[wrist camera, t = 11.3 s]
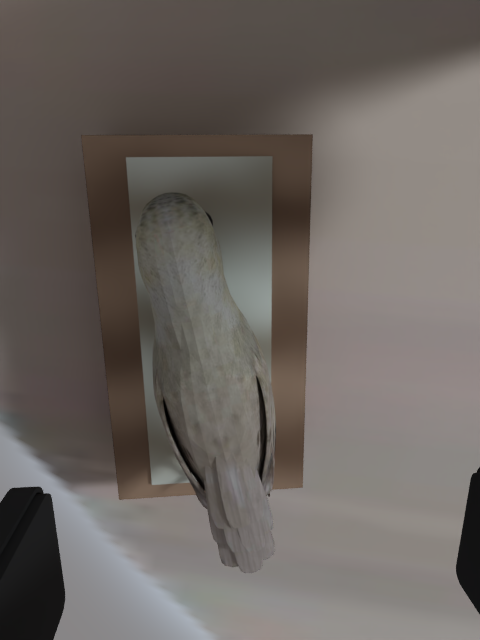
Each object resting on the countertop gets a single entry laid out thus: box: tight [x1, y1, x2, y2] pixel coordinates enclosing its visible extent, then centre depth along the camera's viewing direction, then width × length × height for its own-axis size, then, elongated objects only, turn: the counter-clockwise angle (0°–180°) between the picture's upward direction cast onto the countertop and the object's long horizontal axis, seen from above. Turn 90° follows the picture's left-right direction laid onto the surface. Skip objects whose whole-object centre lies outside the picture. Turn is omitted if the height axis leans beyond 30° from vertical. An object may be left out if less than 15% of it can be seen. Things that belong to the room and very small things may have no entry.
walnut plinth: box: [81, 135, 313, 500], centre depth 25 cm, size 20×11×4 cm, turn 1°
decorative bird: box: [135, 192, 276, 573], centre depth 20 cm, size 5×16×8 cm, turn 12°
